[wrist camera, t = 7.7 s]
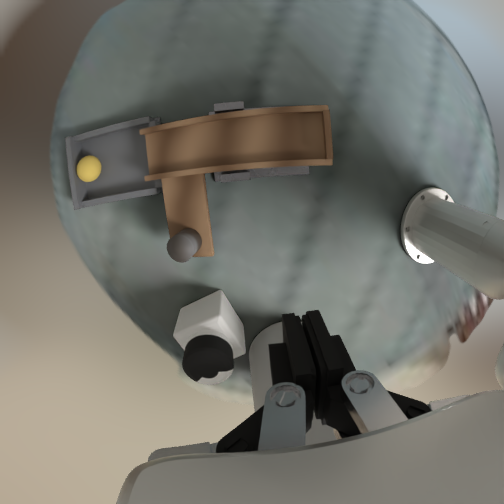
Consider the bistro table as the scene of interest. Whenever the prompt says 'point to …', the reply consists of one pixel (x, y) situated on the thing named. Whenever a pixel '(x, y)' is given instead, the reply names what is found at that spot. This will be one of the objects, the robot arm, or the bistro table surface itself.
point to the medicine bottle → (210, 338)
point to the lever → (227, 160)
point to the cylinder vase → (264, 381)
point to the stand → (257, 172)
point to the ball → (89, 168)
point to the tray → (112, 163)
